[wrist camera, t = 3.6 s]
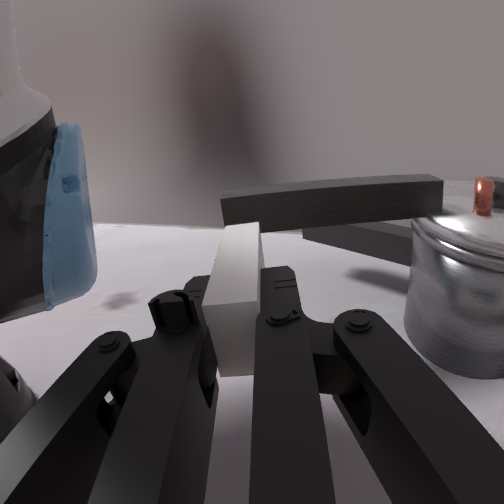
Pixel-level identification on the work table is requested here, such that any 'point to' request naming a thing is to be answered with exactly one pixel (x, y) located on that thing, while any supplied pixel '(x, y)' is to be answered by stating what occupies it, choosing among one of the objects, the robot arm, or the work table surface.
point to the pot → (438, 293)
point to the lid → (379, 206)
